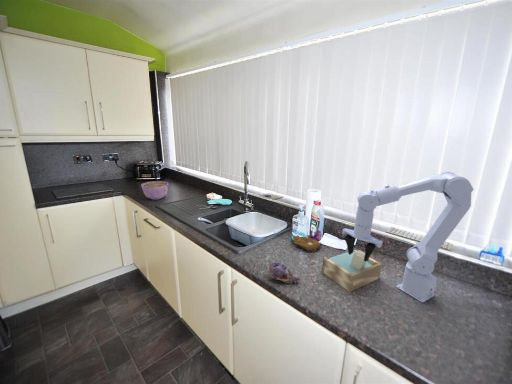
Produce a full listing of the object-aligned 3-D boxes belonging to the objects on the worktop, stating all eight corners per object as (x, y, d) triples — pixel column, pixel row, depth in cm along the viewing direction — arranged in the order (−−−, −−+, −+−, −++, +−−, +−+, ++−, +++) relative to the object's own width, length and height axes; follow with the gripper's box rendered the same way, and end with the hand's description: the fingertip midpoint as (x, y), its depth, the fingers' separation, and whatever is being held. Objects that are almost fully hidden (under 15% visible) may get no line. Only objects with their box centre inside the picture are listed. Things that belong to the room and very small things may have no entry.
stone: (364, 266, 93) (368, 255, 91) (359, 270, 91) (363, 259, 89) (355, 261, 96) (359, 249, 94) (350, 264, 93) (353, 253, 91)
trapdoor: (328, 260, 96) (328, 258, 96) (351, 252, 103) (352, 250, 103) (349, 278, 88) (350, 276, 87) (373, 268, 94) (374, 266, 94)
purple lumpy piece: (301, 279, 93) (302, 266, 91) (293, 290, 86) (295, 276, 85) (274, 270, 99) (274, 256, 97) (265, 279, 92) (265, 265, 91)
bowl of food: (174, 198, 189) (173, 184, 186) (149, 203, 175) (147, 188, 172) (162, 193, 202) (161, 180, 199) (138, 197, 188) (136, 183, 185)
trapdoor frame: (321, 271, 98) (323, 257, 96) (350, 261, 106) (352, 247, 104) (349, 291, 86) (352, 276, 84) (379, 278, 94) (382, 263, 93)
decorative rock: (285, 245, 121) (312, 257, 111) (286, 237, 119) (312, 249, 110) (298, 236, 129) (323, 247, 119) (298, 230, 127) (324, 240, 118)
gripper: (388, 227, 85) (382, 261, 89) (350, 216, 96) (346, 246, 100) (379, 233, 81) (373, 268, 85) (341, 220, 92) (336, 251, 95)
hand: (358, 256), depth 92 cm, fingers open, 6 cm apart
